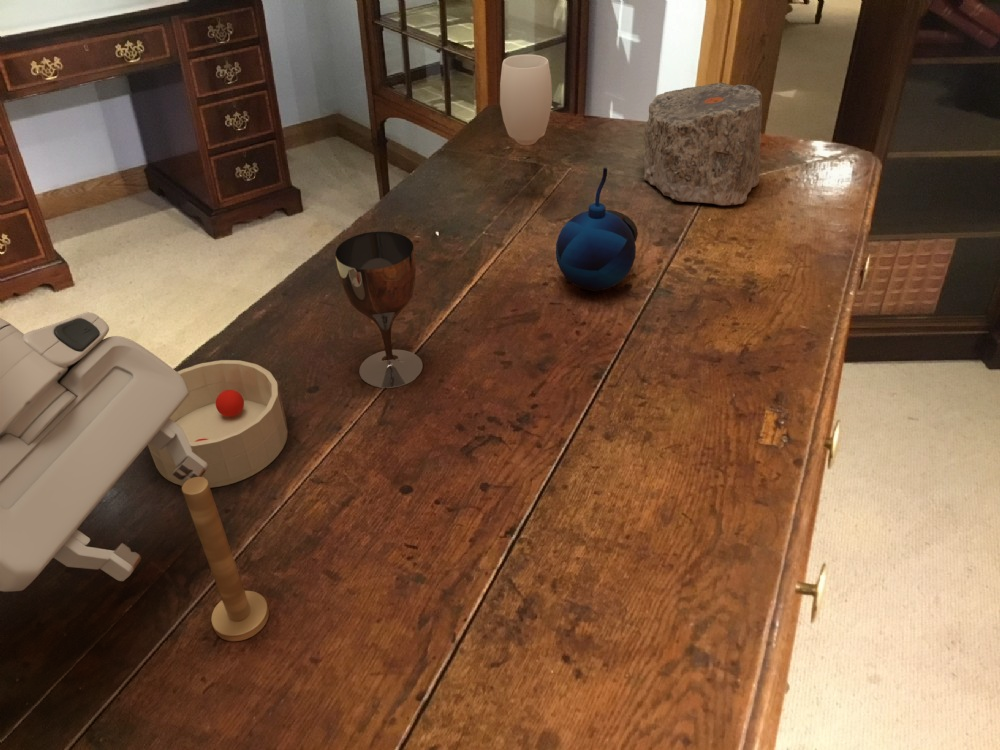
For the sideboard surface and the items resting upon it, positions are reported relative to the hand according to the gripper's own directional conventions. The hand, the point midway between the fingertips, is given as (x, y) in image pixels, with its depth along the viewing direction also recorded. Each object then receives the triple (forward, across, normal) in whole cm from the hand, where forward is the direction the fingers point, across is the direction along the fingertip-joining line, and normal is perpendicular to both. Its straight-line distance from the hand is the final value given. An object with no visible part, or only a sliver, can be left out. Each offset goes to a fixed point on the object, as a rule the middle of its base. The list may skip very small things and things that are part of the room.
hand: (168, 520), depth 62 cm
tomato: (0, +24, +13) cm, 27 cm away
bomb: (+25, +57, -9) cm, 63 cm away
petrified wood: (+33, +89, -17) cm, 97 cm away
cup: (+15, +78, 0) cm, 80 cm away
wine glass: (+11, +35, +5) cm, 37 cm away
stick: (+10, +1, +6) cm, 12 cm away
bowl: (+1, +20, +14) cm, 25 cm away
